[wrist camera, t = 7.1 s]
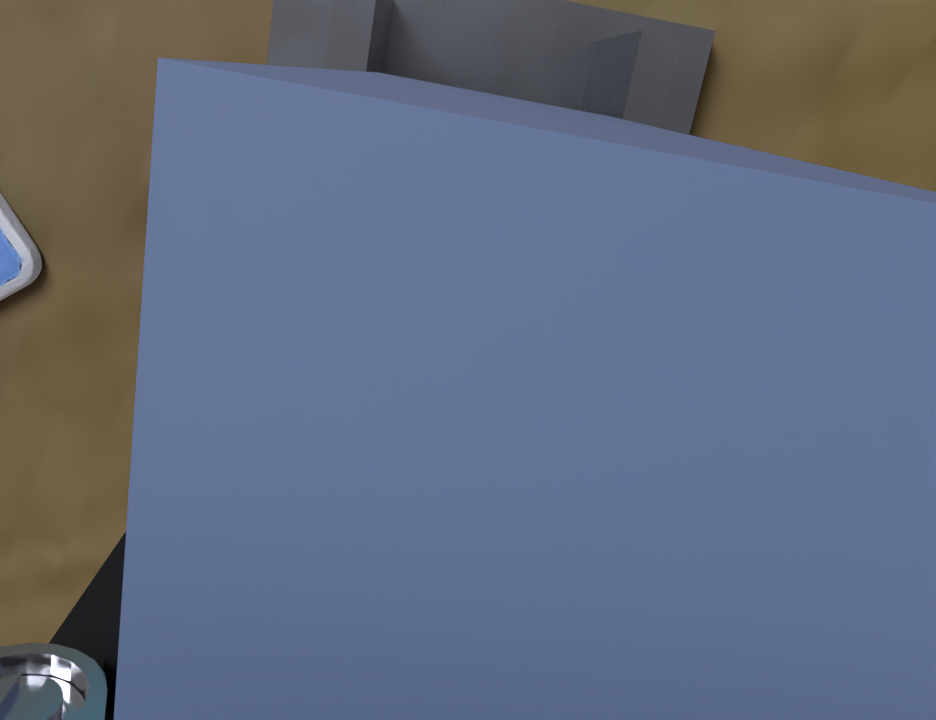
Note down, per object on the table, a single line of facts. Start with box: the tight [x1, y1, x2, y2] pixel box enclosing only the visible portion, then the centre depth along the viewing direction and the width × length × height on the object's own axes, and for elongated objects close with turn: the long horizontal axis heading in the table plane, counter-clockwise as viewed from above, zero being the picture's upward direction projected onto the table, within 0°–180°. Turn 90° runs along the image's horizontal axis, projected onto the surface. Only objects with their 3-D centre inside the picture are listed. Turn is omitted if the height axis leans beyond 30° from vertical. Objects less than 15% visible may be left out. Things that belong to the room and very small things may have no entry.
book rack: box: [267, 0, 715, 135], centre depth 27 cm, size 14×18×8 cm
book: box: [114, 58, 936, 720], centre depth 13 cm, size 5×12×15 cm, turn 170°
